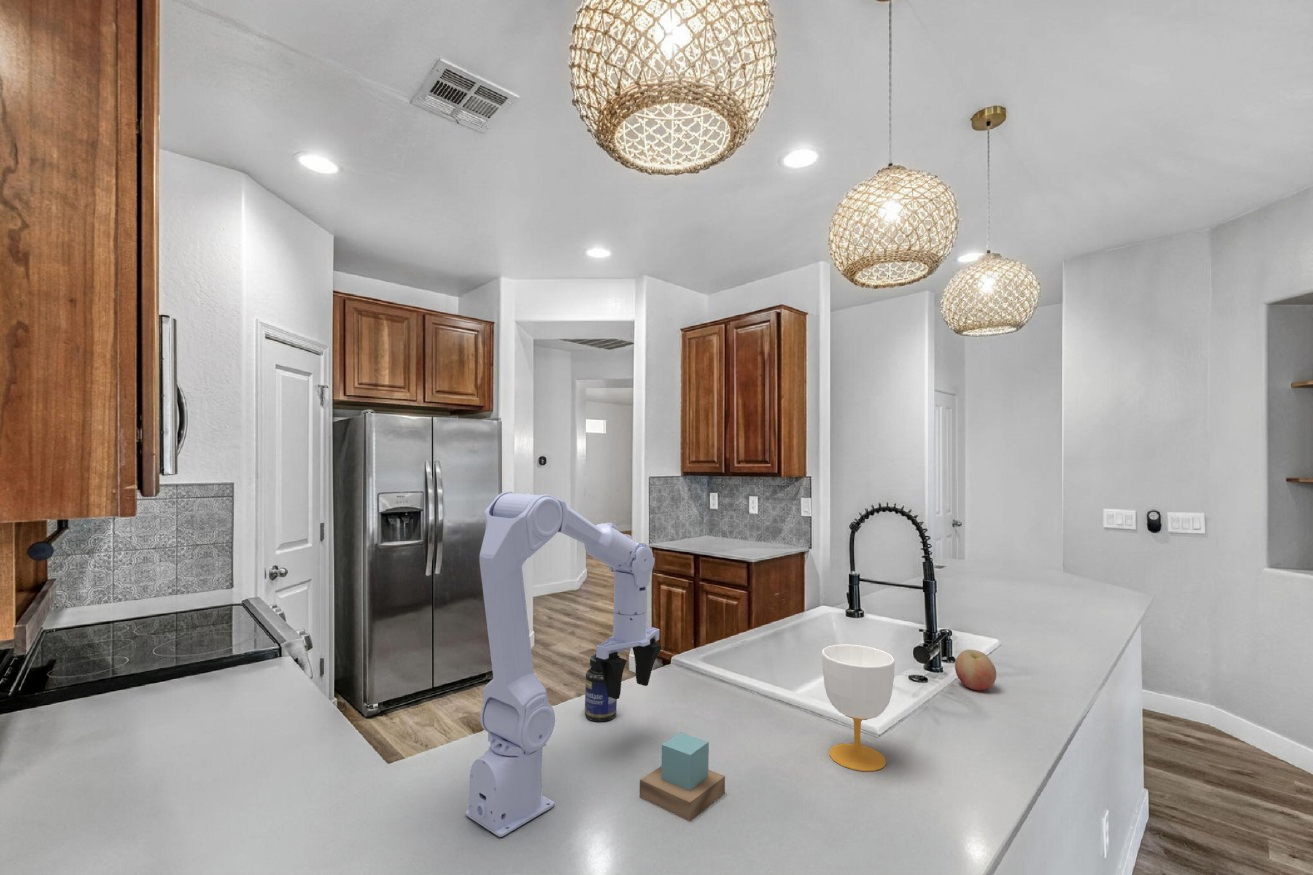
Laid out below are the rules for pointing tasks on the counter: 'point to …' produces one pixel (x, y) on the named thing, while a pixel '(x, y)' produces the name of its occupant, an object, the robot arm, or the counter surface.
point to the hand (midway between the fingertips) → (628, 690)
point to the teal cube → (685, 761)
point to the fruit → (975, 670)
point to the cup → (858, 696)
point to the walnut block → (682, 794)
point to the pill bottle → (597, 695)
